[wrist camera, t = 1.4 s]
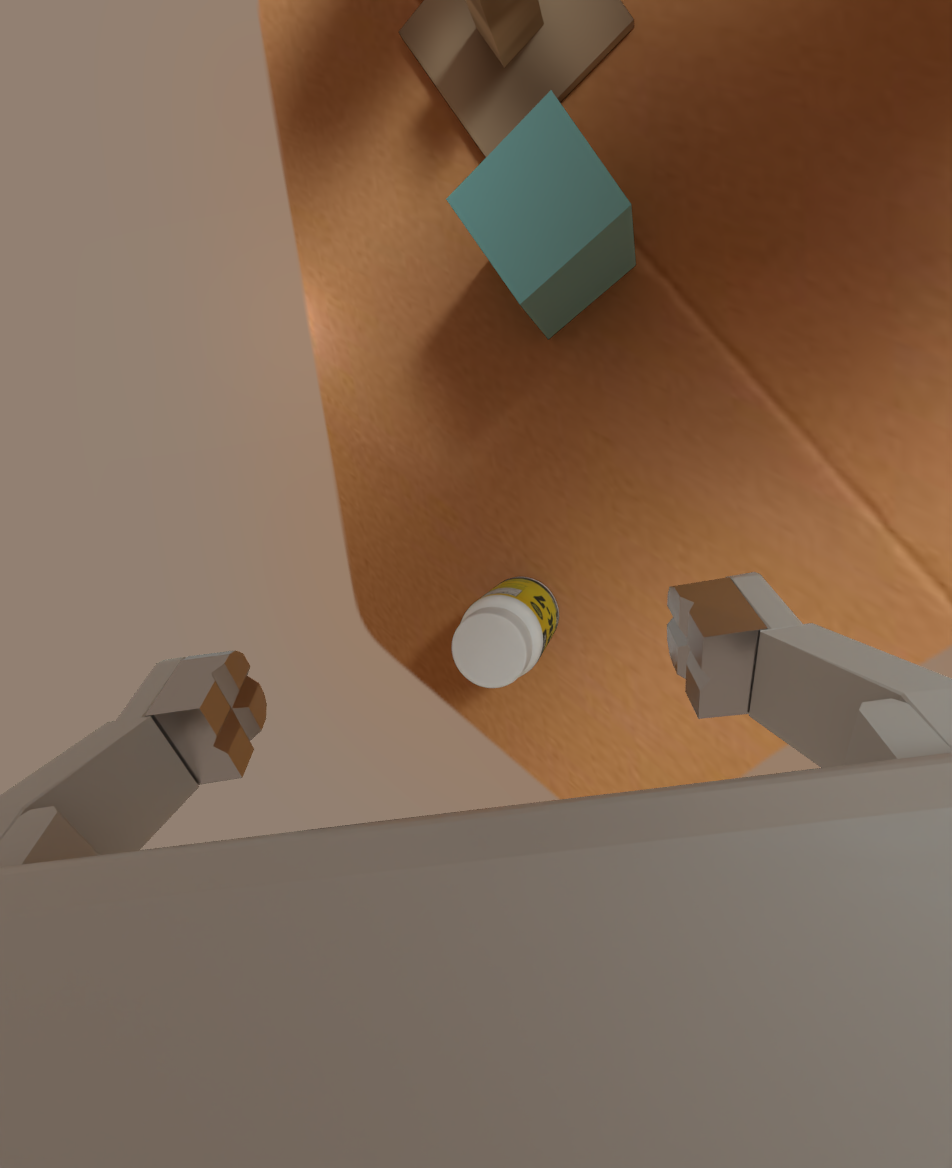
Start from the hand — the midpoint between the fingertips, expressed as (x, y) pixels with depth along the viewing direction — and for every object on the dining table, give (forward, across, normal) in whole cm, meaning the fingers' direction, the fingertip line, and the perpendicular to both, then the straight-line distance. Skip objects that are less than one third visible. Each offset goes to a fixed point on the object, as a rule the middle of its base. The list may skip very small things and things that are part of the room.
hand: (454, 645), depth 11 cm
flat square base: (+32, -5, -14) cm, 36 cm away
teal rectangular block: (+28, -6, -4) cm, 28 cm away
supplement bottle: (+21, -1, +15) cm, 26 cm away
